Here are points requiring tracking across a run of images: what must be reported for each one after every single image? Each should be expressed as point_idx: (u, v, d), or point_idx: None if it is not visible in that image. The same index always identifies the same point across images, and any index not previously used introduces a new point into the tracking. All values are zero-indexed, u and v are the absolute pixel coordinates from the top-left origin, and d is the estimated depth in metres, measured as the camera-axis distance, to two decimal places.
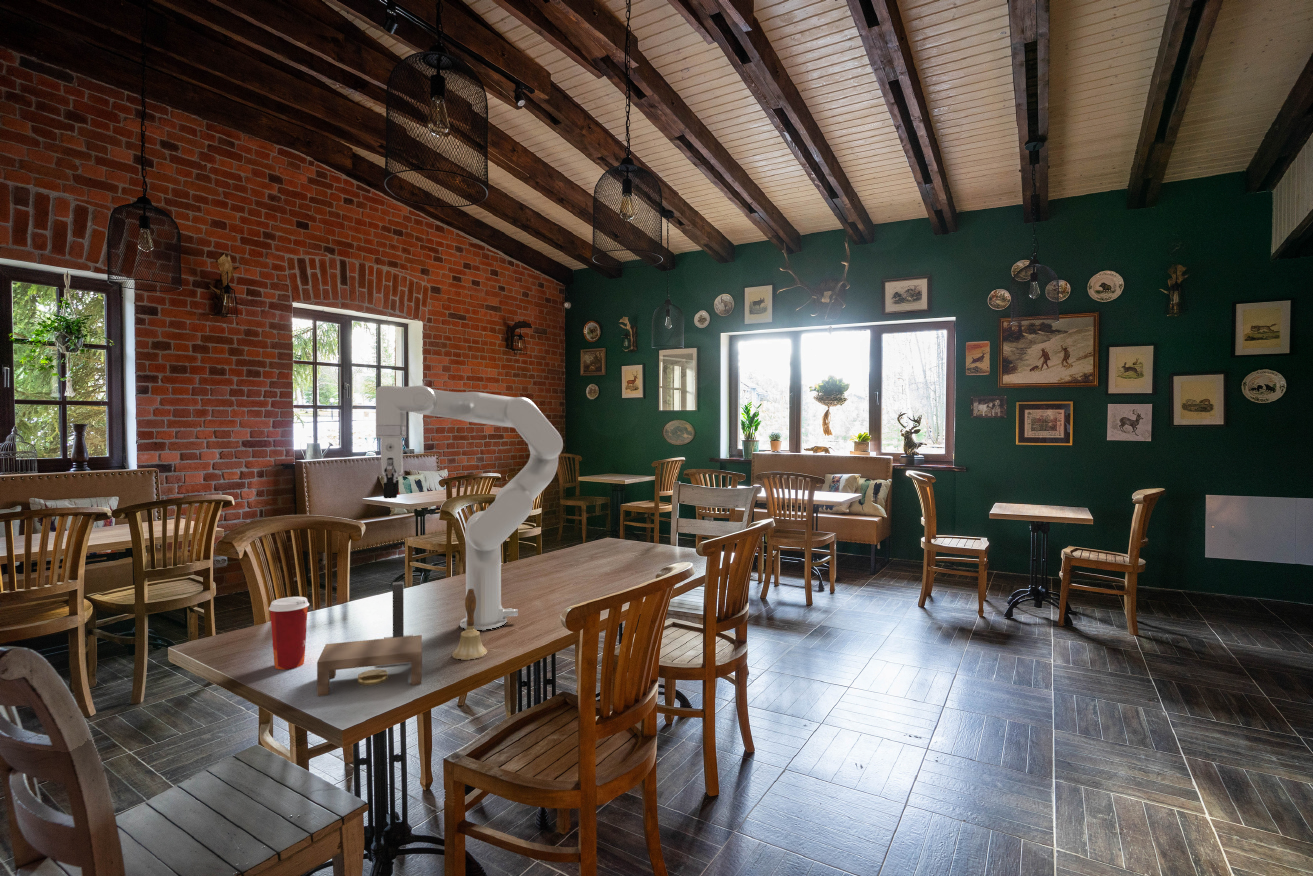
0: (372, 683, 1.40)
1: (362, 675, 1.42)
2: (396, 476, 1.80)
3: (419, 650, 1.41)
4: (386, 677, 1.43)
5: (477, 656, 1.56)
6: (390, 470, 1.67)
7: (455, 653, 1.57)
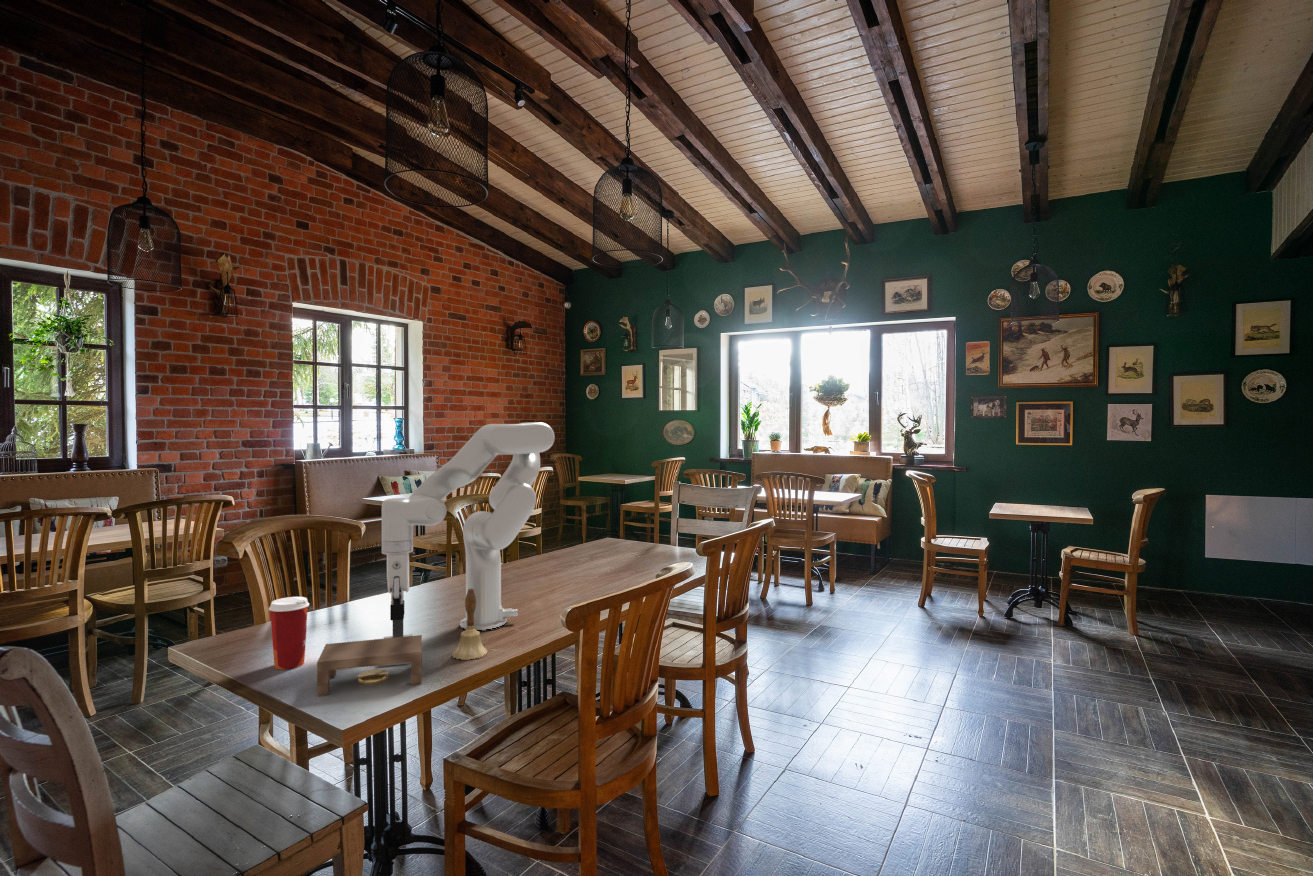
0: (373, 683, 1.40)
1: (362, 675, 1.42)
2: None
3: (419, 650, 1.41)
4: (386, 677, 1.43)
5: (477, 656, 1.56)
6: (397, 598, 1.63)
7: (455, 653, 1.57)
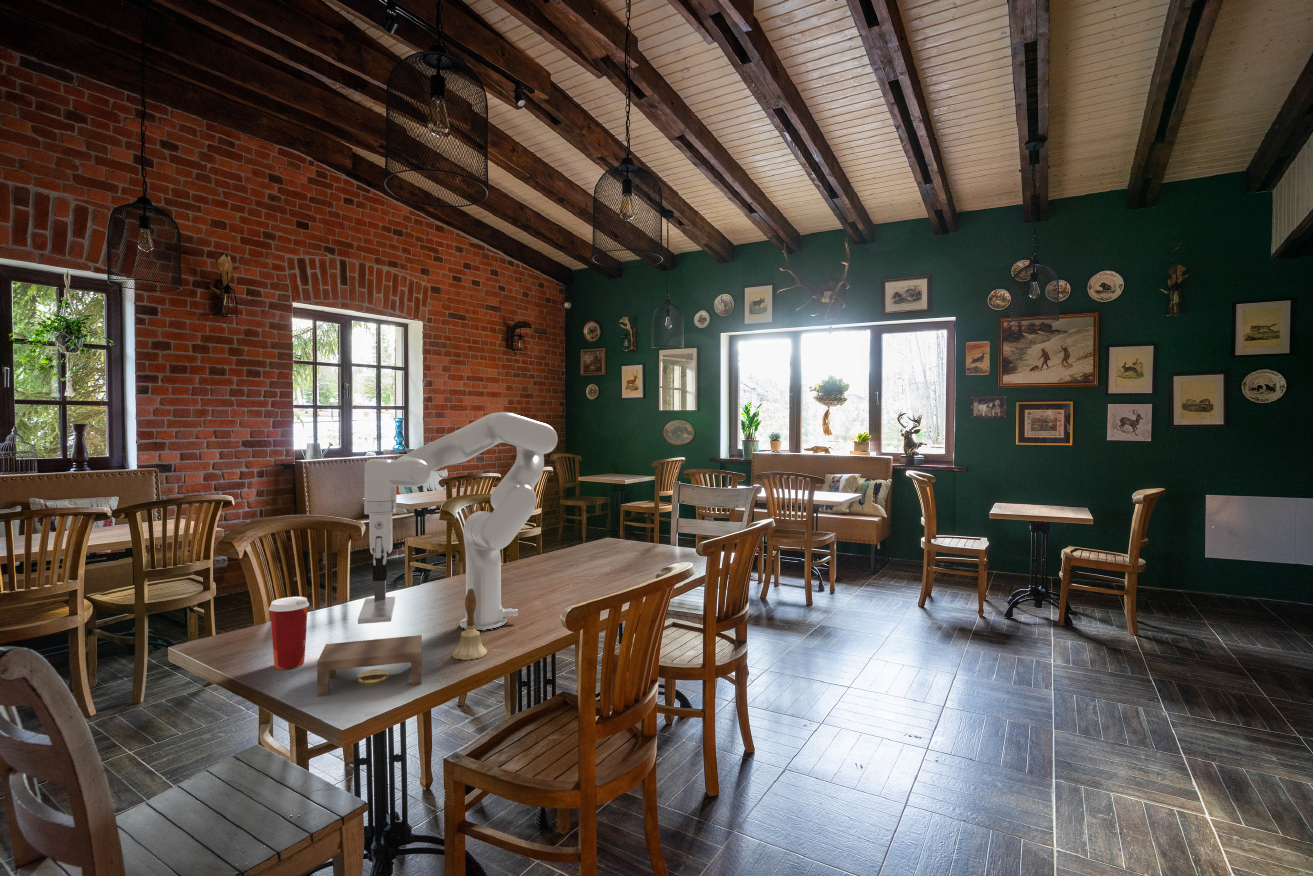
0: (373, 683, 1.40)
1: (362, 675, 1.42)
2: None
3: (419, 650, 1.41)
4: (386, 677, 1.43)
5: (477, 656, 1.56)
6: (379, 558, 1.62)
7: (455, 653, 1.57)
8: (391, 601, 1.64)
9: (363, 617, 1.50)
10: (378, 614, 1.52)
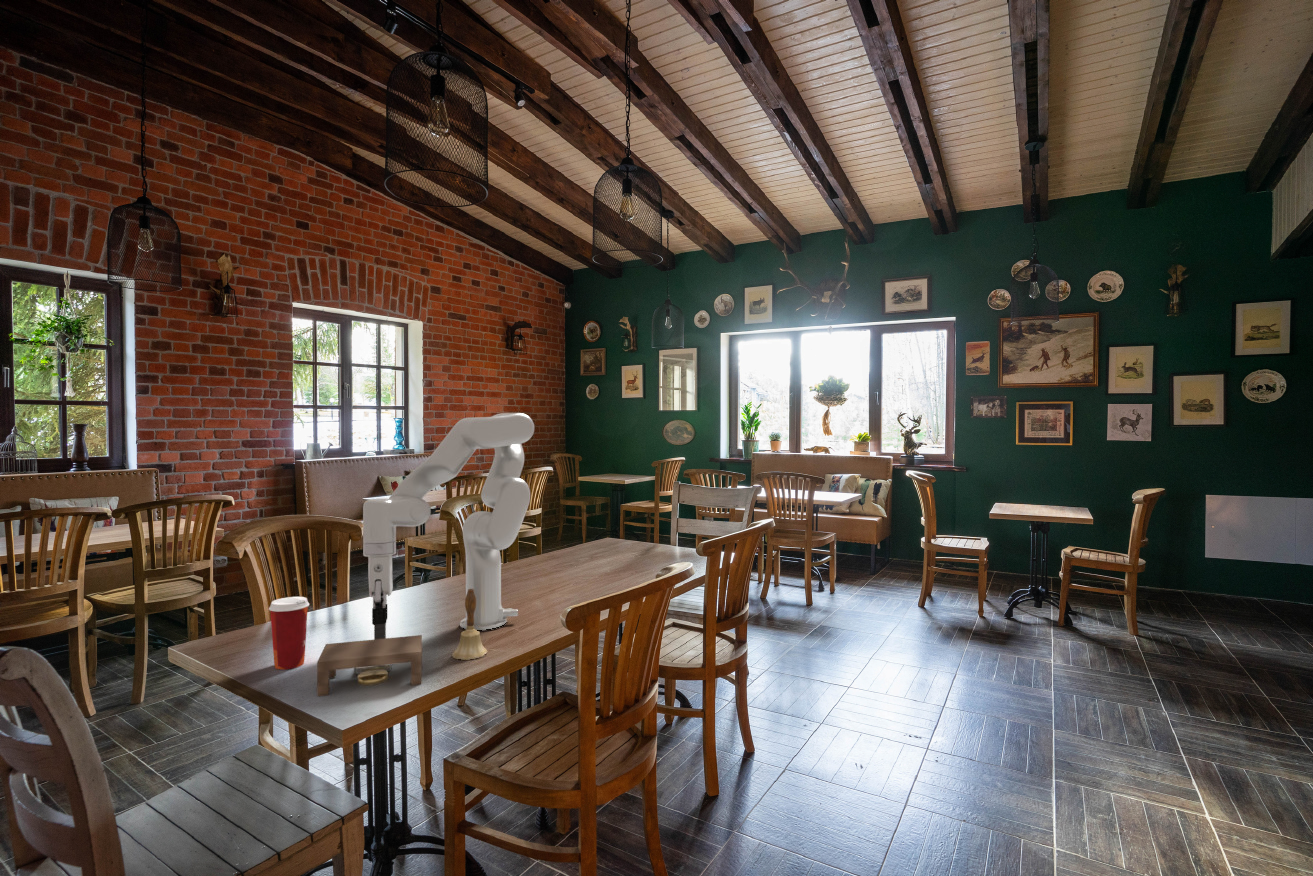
0: (374, 682, 1.40)
1: (362, 675, 1.42)
2: None
3: (419, 650, 1.41)
4: (387, 676, 1.43)
5: (477, 656, 1.56)
6: (379, 602, 1.58)
7: (455, 653, 1.57)
8: None
9: None
10: None
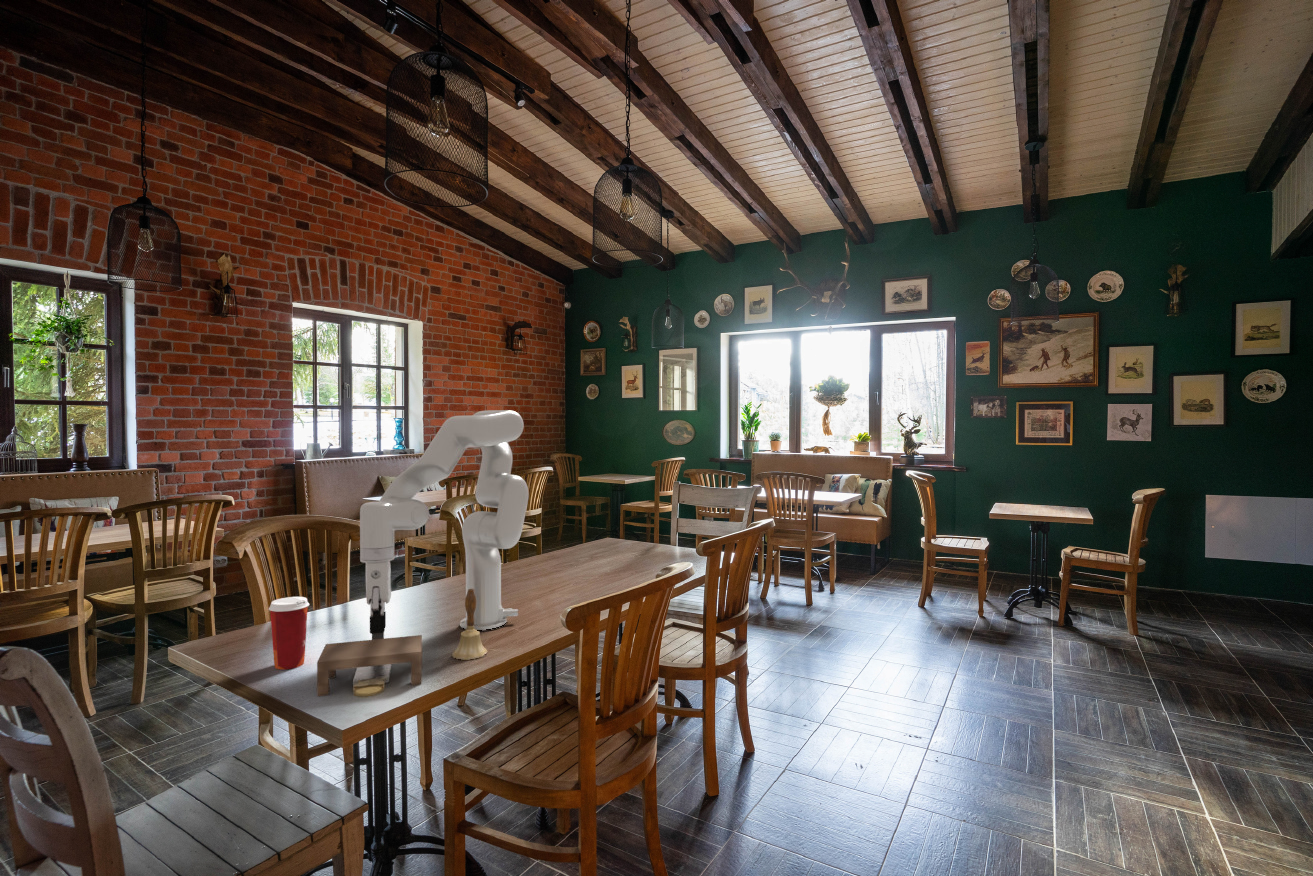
0: (369, 694, 1.34)
1: (358, 686, 1.36)
2: None
3: (419, 650, 1.41)
4: (383, 687, 1.37)
5: (477, 656, 1.56)
6: (376, 610, 1.51)
7: (455, 653, 1.57)
8: None
9: (359, 678, 1.39)
10: (375, 674, 1.42)
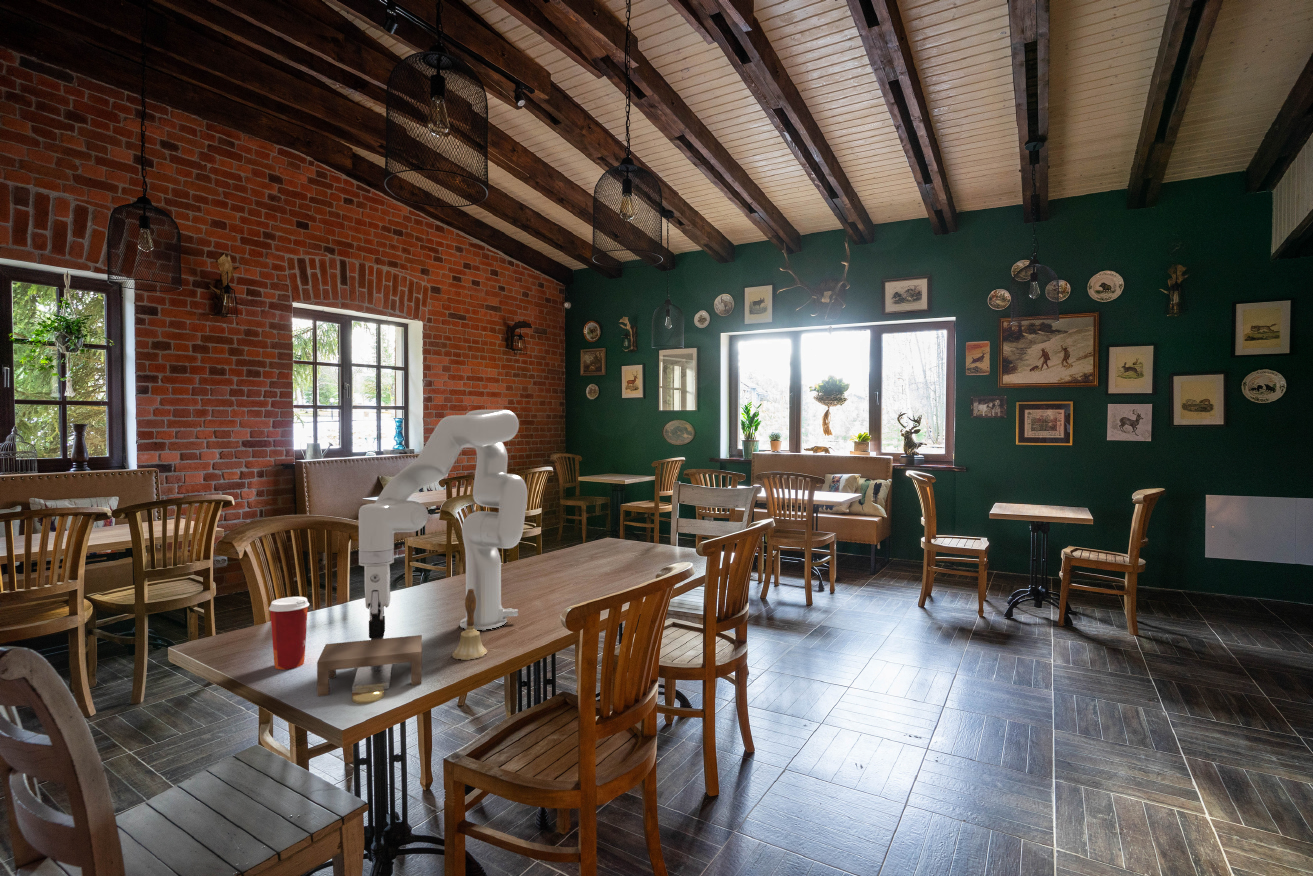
0: (368, 701, 1.31)
1: (357, 693, 1.33)
2: None
3: (419, 650, 1.41)
4: (383, 694, 1.33)
5: (477, 656, 1.56)
6: (376, 614, 1.48)
7: (455, 653, 1.57)
8: None
9: (358, 684, 1.36)
10: (375, 680, 1.39)
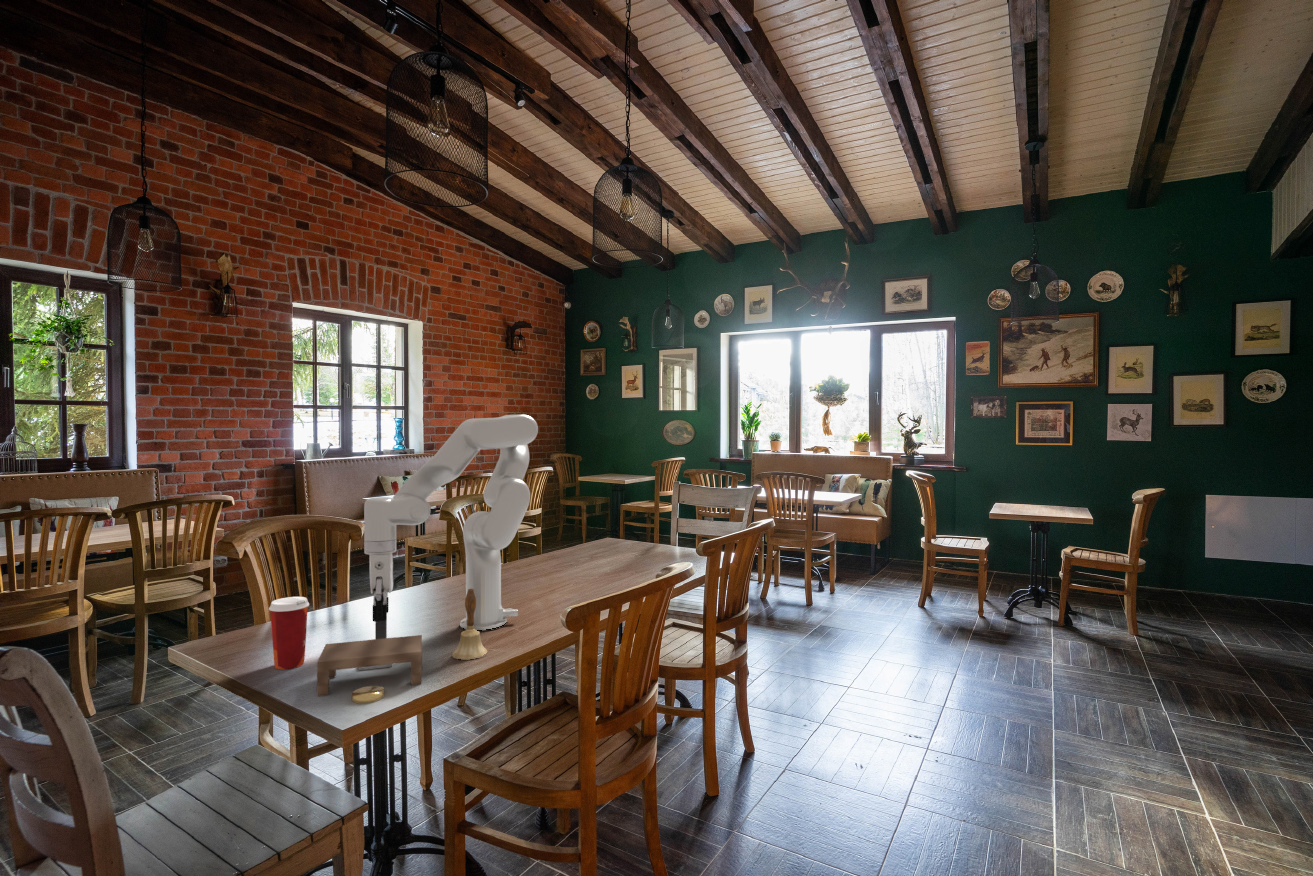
0: (368, 701, 1.31)
1: (357, 693, 1.33)
2: None
3: (419, 650, 1.41)
4: (382, 694, 1.33)
5: (477, 656, 1.56)
6: (379, 596, 1.59)
7: (455, 653, 1.57)
8: None
9: None
10: None
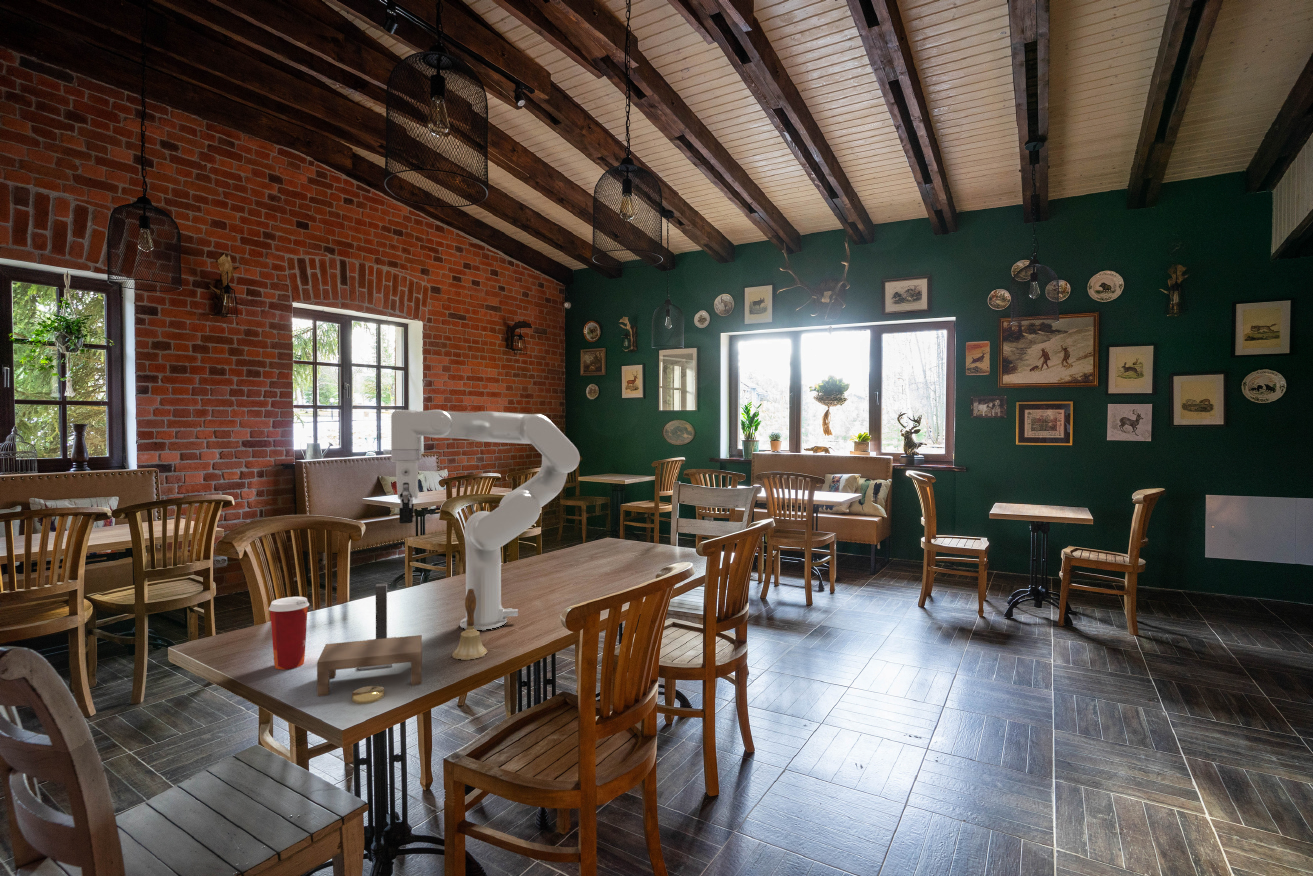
0: (368, 701, 1.31)
1: (357, 692, 1.33)
2: None
3: (419, 650, 1.41)
4: (382, 694, 1.33)
5: (477, 656, 1.56)
6: (406, 495, 1.67)
7: (455, 653, 1.57)
8: None
9: None
10: None
